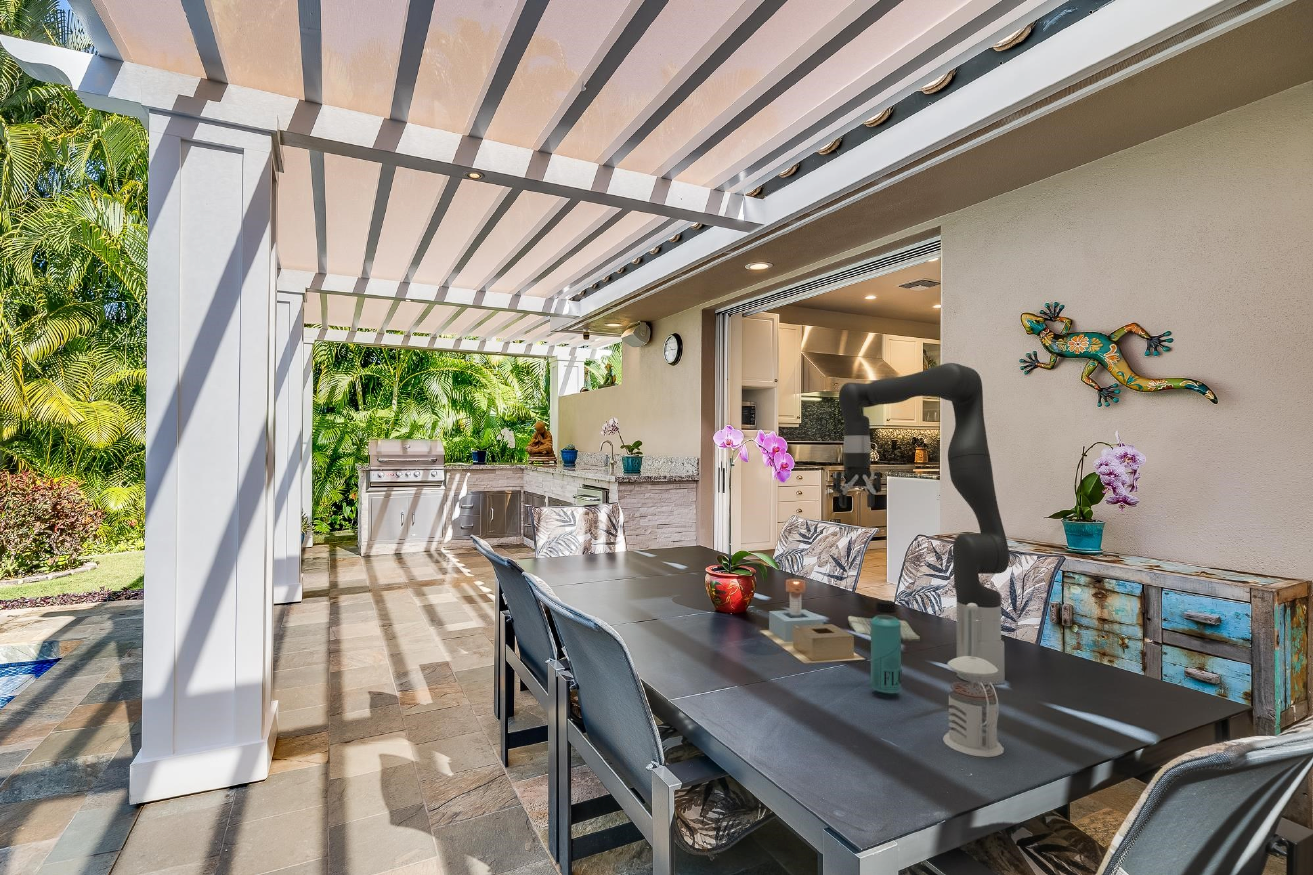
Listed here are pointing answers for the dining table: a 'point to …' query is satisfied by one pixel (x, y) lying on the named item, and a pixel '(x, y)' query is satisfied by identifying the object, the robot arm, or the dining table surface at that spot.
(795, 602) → the steel peg
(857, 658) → the oak board
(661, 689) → the dining table surface
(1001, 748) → the french press
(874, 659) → the beverage bottle
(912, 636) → the dish towel
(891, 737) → the dining table surface
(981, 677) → the robot arm
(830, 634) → the tan holed block
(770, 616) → the socket block
